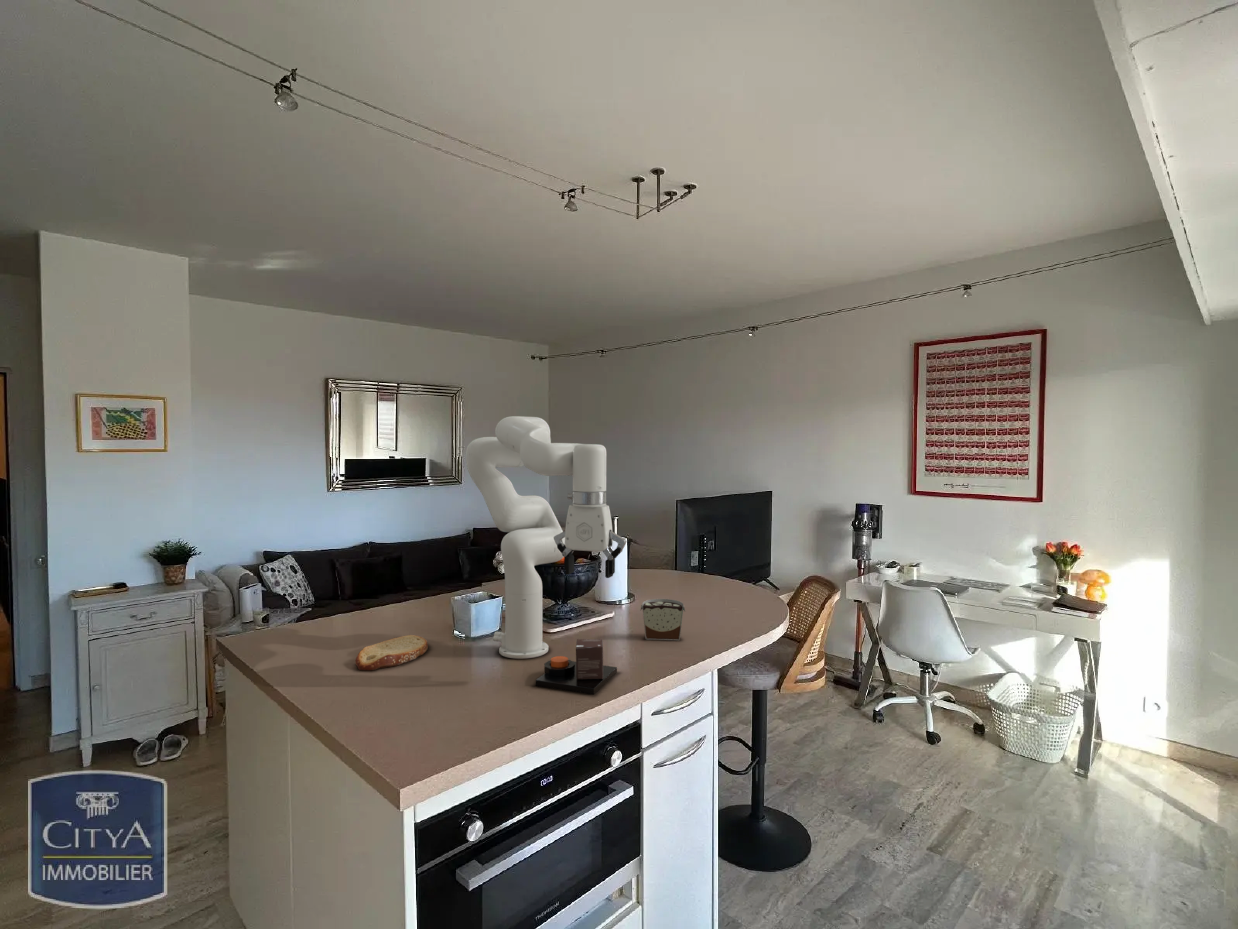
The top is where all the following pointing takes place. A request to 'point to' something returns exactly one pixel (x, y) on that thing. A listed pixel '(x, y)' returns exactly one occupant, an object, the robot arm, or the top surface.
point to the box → (589, 659)
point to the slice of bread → (391, 652)
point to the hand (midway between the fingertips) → (589, 575)
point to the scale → (572, 679)
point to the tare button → (559, 661)
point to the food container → (662, 619)
